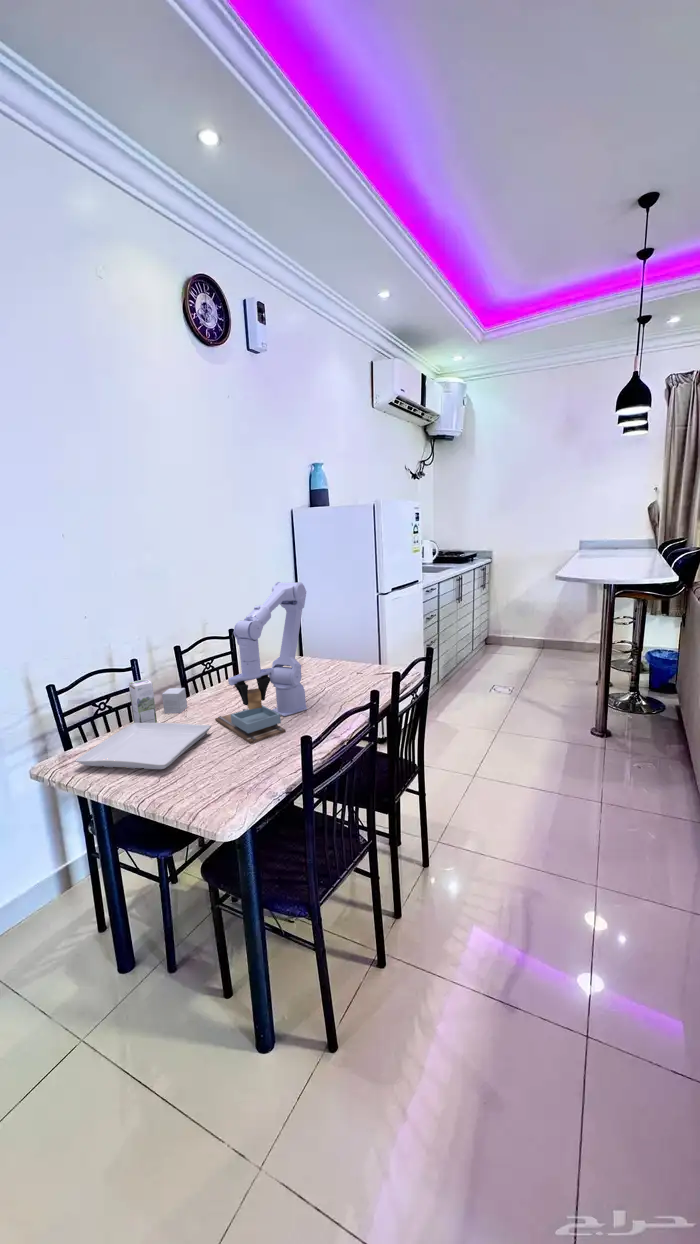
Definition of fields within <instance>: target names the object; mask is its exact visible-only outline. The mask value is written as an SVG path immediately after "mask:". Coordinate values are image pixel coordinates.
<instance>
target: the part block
mask: <svg viewBox="0 0 700 1244" xmlns="http://www.w3.org/2000/svg"><path fill="white" fill-rule="evenodd" d="M262 704H263V703H262V700H261V692H260V690H259V688H257V687H256V688H252V689H251V688H250V689H248V705H246V706H247V709H249V710H250V709H256V708H262Z"/></svg>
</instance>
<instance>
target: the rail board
mask: <svg viewBox="0 0 700 1244" xmlns="http://www.w3.org/2000/svg"><path fill="white" fill-rule="evenodd" d="M244 710H248V708H247V709H245V708H244V709H242V710H240V711H236V712H233V713H229V714H226V715H223V716H221V715H218V716H217V717H216V718H214V720H215V722H217V723H218V724H219V725H220V726H222V727H224V728H225V729H227V730H229V731H230V732H232V733H233V734H235V735H236V736H238V737H239V738H241V739H242V740H244V741H245V742H247V743H249V744H250V745H252V744H255V743H257V742H260V741H263V740H266V739H270V738H272V737H275V736H278V735H282V734H284V733H286V732H287V731H286V729H285V728H283V727H282V726H280V725H277V726H269V727H266V728H263V729H260V730H257V731H254V732H251V734H249V735H247V733H246V732H245V731H244V730H242V729H240V728H239V727H237V728H236V727H235V725H234V724H232V723H231V714H234V713H237V712H241V711H244Z"/></svg>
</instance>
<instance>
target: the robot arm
mask: <svg viewBox="0 0 700 1244" xmlns="http://www.w3.org/2000/svg"><path fill="white" fill-rule="evenodd" d="M306 597H307V590H306V588H305V584H304V583H303V582H300V581H298V582H283V581H282V582H281V581H277V582H275V583H274V585H273V586H272V587H271V593H270V595H269V596H268V597H267V599H266V600H265V601H264V602H263V604H258V605H255V606H254V607H253V609H252V610H251V612H249V613H248V615H246V617H245V618H244V619H243V620H238V621H237V622H236V623H235V625H234V627H233V632H232V633H233V636H234V638H235V640H236V643H237V645H238V647H239V649H238V650H239V660H240V667H241V673H239V674H237V675H233V676H231V677H228V680H227V681H228V685H230V686H234V687H235V688H236V691H237V692H238V694H239V696H240V698H241V701H242V703H243V705H244V706H247V705H248V690H249V684H247V683H246V682H248V681H252V680H253V681H254V680H256V683H257V687H258V688H259V690H260V692H261V702H262V701H265V700H266V693H267V690H268V686H269V684H270V683H271V684H272V685H273V687H274V688H275V696H276V698H275V699H276V708H273V709H271V710H273V711H275V712H277V713H279V714H280V716H282V717H287V716H290V715H293V714H296V713H300V712H303V711H306V710H308V707H307V702H306V690H305V688H304V687H305V686H304V685H303V684H302V683H301V681H302V678H303V677H302V664H301V663H300V662H299V661H298V660H297V658H296V655H297V649H298V648H297V647H298V641H299V634H300V627H301V622H302V621H301V620H302V615H303V609H304V608H305V603H306ZM278 606H281V608H283V609H284V610H285V611H286V613H285V617H284V618H285V620H284V624H283V625H284V626H283V633H282V639H281V645H280V652H279V656H278V657H277V658H276V659H274V660H273V662H272V665H271V667H268V668H261V658H260V648H259V639H260V638H261V635H262V631H263V630H264V629H263V628H264V627H265V625H266V624H267V623H268V622H269V621H270V619H271V618H272V613H273V611H274V610H276V608H277V607H278Z"/></svg>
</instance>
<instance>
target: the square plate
mask: <svg viewBox="0 0 700 1244" xmlns="http://www.w3.org/2000/svg"><path fill="white" fill-rule="evenodd" d="M211 728H212V725H210V724H194V723H193V724H192V723H178V722H177V723H175V722H174V723H172V722H157V723H134V722H133V723H131V724H129V725H127V726H125V727H124V728H122V729H120V730H119V731H117V732H116V733H114V734H112V735H111V736H109V737H108V738H106V739H104V740H102V742H100V743H98V744H97V745H96V746H94V747H92V748H91V749H90V750H88V751H87V752H85V753H84V754H82V755H81V756H79V757H78V758H77V759H75V762H76V763H79V764H81V765H84V766H89V767H102V766H104V768H113V767H128V768H127V769H135V768H144V769H143V770H165V769H166V768H167V767H169V766H170V765H172V764H173V762H175V761H176V760H177V759H178V758H179V757H180V756H181V755H183V754H184V753H185V752H186V751H188V749H190V747H192V746H193V745H195V743H197V742H198V741H199V740H201V739H202V738H203V737H205V736H206V734H207V733H208V731H210V730H211ZM107 758H108V760H107ZM103 759H105V760H103ZM114 760H115V761H114Z"/></svg>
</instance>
